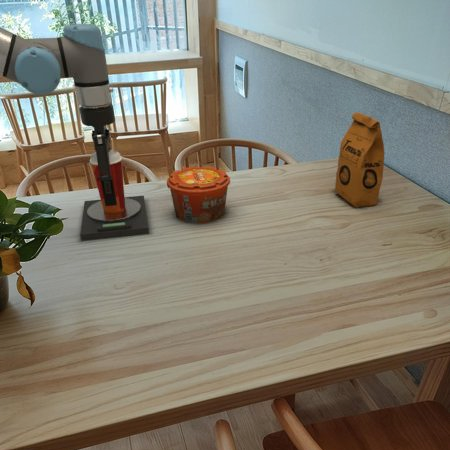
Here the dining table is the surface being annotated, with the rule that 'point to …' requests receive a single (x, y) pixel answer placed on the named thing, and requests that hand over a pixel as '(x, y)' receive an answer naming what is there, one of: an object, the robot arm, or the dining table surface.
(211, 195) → the food container
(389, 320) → the dining table surface
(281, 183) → the dining table surface
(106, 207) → the paper cup
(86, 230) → the scale
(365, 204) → the coffee package
